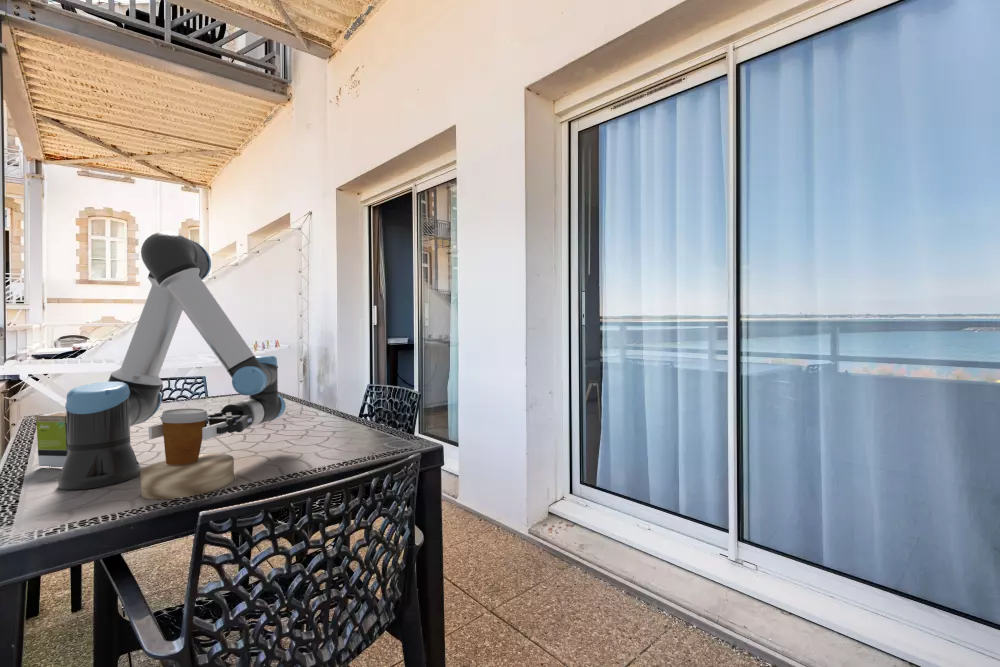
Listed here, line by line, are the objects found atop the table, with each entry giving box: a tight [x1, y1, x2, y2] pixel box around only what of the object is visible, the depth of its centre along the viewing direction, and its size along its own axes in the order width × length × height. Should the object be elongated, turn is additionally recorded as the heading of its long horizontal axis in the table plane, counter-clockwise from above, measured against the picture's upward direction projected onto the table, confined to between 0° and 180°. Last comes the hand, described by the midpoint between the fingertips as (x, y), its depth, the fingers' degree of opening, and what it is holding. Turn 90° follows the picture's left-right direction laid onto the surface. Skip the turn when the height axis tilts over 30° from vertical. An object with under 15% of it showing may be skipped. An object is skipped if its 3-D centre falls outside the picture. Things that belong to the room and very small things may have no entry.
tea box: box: [35, 410, 68, 467], centre depth 130 cm, size 15×10×15 cm
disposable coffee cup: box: [159, 407, 210, 465], centre depth 109 cm, size 10×10×12 cm
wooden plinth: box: [139, 453, 235, 501], centre depth 107 cm, size 18×18×5 cm
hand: (176, 433), depth 104 cm, fingers open, 13 cm apart
